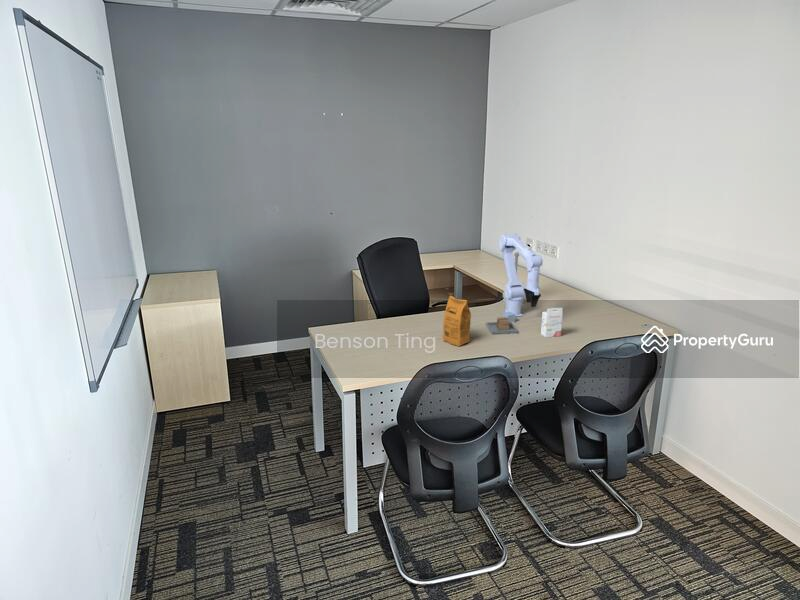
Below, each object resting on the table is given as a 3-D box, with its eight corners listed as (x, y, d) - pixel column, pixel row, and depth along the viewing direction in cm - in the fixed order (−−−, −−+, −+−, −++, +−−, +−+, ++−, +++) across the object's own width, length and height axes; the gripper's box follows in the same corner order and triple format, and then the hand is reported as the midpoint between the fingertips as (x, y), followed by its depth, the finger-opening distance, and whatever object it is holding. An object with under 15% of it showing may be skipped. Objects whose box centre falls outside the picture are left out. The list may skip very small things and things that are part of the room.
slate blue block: (502, 320, 278) (503, 312, 277) (509, 319, 280) (510, 311, 279) (507, 323, 274) (508, 315, 273) (514, 322, 276) (515, 314, 275)
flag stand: (527, 305, 303) (531, 254, 294) (504, 305, 303) (507, 254, 294) (522, 298, 315) (526, 249, 306) (500, 298, 315) (503, 249, 306)
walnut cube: (496, 326, 268) (497, 317, 267) (506, 326, 269) (506, 317, 267) (499, 330, 264) (499, 320, 262) (508, 329, 264) (509, 320, 262)
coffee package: (454, 335, 258) (455, 292, 252) (472, 342, 249) (474, 298, 242) (439, 340, 252) (440, 296, 246) (457, 348, 243) (459, 302, 236)
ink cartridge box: (556, 332, 262) (558, 304, 257) (561, 336, 257) (563, 307, 253) (540, 333, 260) (542, 305, 256) (544, 337, 255) (547, 308, 251)
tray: (485, 325, 272) (485, 322, 271) (510, 324, 273) (510, 321, 272) (491, 334, 259) (492, 331, 259) (517, 333, 261) (517, 330, 260)
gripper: (545, 282, 260) (543, 308, 264) (535, 275, 274) (534, 300, 278) (531, 283, 260) (529, 309, 264) (522, 275, 274) (521, 300, 278)
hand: (531, 304), depth 271 cm, fingers open, 7 cm apart
